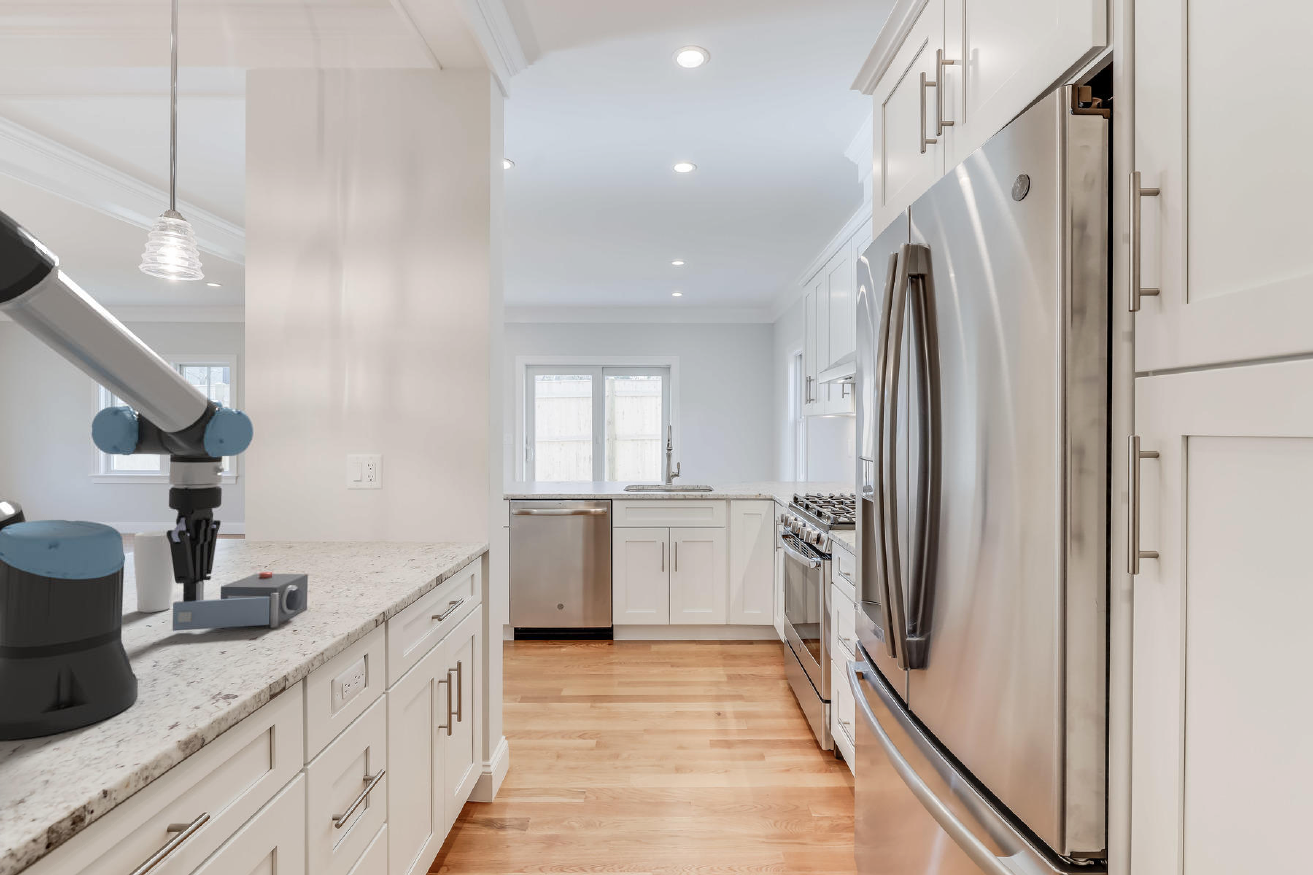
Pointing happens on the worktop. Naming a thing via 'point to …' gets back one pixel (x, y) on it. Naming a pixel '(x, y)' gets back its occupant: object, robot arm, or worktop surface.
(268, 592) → the camera box
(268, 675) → the worktop surface
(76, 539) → the robot arm
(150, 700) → the worktop surface
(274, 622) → the side door
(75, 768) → the worktop surface
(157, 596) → the drinking glass
